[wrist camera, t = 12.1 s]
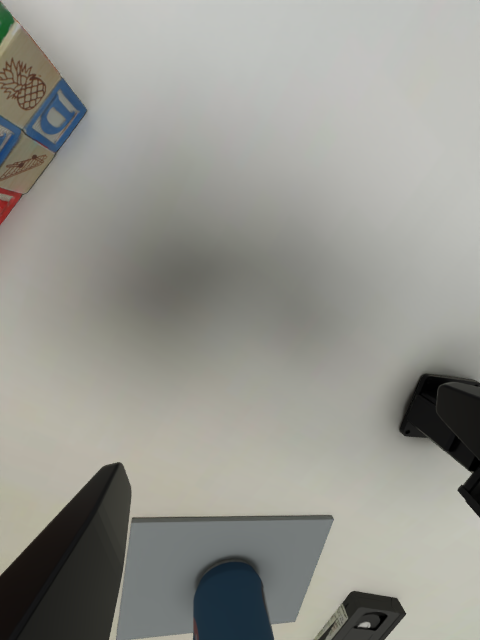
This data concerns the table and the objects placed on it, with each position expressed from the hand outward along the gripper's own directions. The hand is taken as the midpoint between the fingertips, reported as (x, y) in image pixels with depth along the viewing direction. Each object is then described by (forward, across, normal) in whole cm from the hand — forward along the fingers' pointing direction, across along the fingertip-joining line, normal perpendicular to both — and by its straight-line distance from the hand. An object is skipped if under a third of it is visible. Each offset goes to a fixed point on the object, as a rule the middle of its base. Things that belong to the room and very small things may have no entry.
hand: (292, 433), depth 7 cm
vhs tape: (+14, -8, +46) cm, 48 cm away
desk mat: (+13, +5, +28) cm, 31 cm away
